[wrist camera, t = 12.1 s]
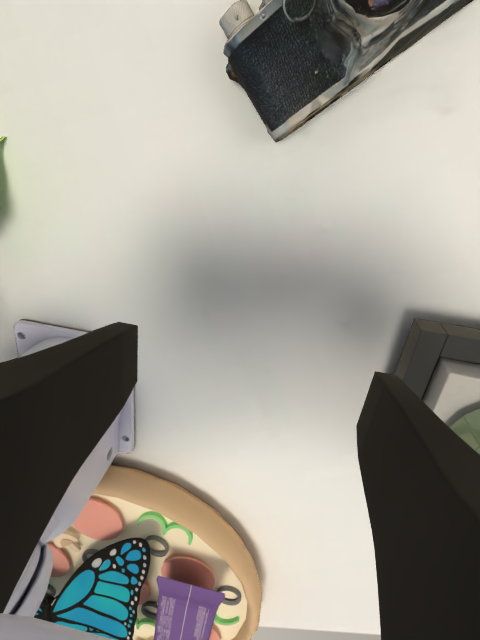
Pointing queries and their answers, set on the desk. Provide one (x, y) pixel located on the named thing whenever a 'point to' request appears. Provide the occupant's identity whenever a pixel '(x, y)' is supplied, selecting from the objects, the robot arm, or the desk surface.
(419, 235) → the desk surface
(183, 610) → the snack package
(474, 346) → the black square base
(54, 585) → the toy pizza
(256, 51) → the camera
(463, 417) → the bowl
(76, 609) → the butterfly
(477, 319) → the desk surface
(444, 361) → the button plate
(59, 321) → the desk surface
